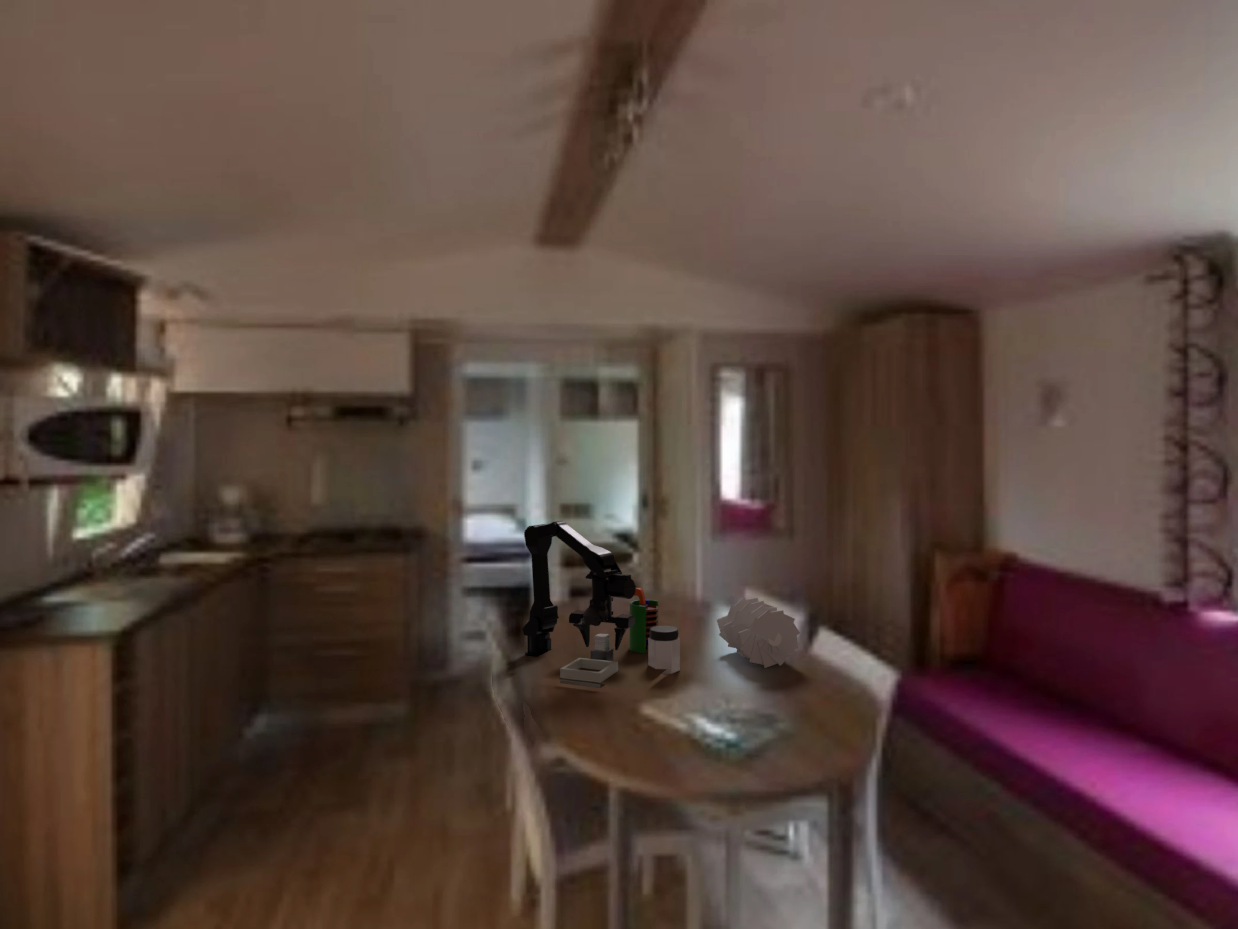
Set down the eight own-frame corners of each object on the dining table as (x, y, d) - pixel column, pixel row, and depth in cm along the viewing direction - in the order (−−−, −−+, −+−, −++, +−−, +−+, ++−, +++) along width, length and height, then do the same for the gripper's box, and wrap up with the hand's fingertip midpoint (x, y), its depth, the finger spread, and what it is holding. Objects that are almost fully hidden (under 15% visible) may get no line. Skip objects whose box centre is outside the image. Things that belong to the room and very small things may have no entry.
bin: (560, 683, 235) (560, 668, 235) (579, 671, 246) (579, 657, 246) (600, 688, 231) (600, 673, 230) (618, 676, 242) (618, 661, 241)
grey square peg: (590, 662, 250) (590, 636, 249) (597, 658, 254) (597, 632, 254) (606, 664, 248) (606, 638, 247) (613, 660, 252) (613, 634, 252)
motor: (655, 658, 260) (655, 592, 259) (626, 657, 261) (626, 591, 260) (660, 650, 269) (660, 586, 269) (632, 648, 271) (632, 585, 270)
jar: (684, 672, 245) (684, 630, 244) (659, 676, 241) (658, 633, 241) (669, 664, 253) (668, 624, 252) (644, 668, 249) (644, 627, 249)
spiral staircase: (754, 661, 270) (790, 680, 246) (706, 640, 266) (737, 657, 242) (777, 607, 272) (814, 620, 248) (729, 585, 268) (762, 596, 244)
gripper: (560, 597, 246) (560, 652, 247) (620, 602, 239) (620, 658, 240) (577, 591, 257) (577, 643, 257) (635, 595, 249) (635, 649, 250)
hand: (602, 648), depth 251 cm, fingers open, 9 cm apart
